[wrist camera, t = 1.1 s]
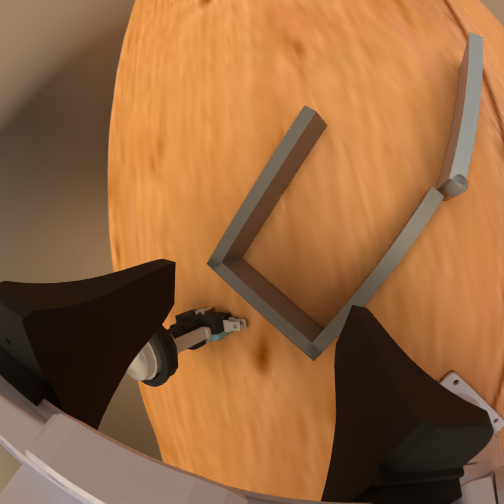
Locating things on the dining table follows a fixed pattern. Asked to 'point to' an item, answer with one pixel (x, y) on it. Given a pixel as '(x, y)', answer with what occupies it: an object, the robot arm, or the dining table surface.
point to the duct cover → (463, 121)
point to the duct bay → (254, 215)
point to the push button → (180, 343)
